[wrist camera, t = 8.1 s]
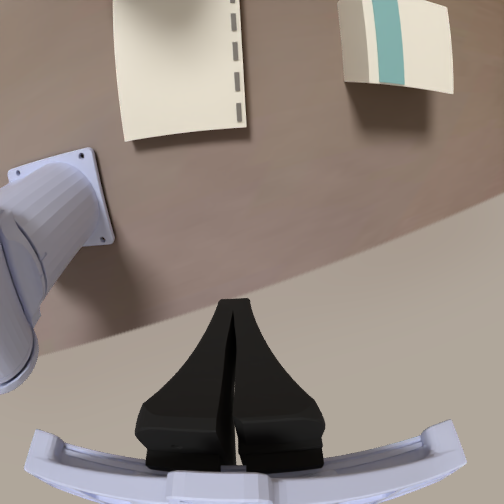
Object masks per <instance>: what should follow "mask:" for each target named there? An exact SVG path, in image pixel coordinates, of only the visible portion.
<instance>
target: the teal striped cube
mask: <svg viewBox="0 0 504 504" xmlns="http://www.w3.org/2000/svg"><path fill="white" fill-rule="evenodd" d="M337 7H338V15H339V24H340V34H341V44H342V56H343V70H344V82H360V83H374V84H386V85H395V86H404V87H412V88H419V89H426V90H432V91H438V92H444V93H449V94H453V60H452V46H451V35H450V26H449V18H448V11H447V7H444V6H441V5H438V4H435V3H432V2H428V1H425V0H340V1H338V2H337Z"/></svg>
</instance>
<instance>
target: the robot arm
mask: <svg viewBox="0 0 504 504" xmlns="http://www.w3.org/2000/svg"><path fill="white" fill-rule="evenodd" d="M81 153H83V154H84V158H82V157H81ZM19 171H20V174H19ZM8 179H9V182H10V183H8V184H6V185H5V186H3V187H2V188H0V394H4V393H8V392H10V391H12V390H14V389H16V388H17V387H18V386H20V385H21V384H22V383H23V382H24V381H25V380H26V379H27V378H28V377H29V375H30V374H31V372H32V370H33V369H34V367H35V364H36V361H37V358H38V352H39V345H38V339H37V336H36V334H35V331H34V329H33V328H34V326H35V325H36V323H37V321H38V320H39V318H40V316H41V313H40V305H41V303H42V301H43V300H44V298H45V297H46V295H47V294H48V292H49V291H50V289H51V288H52V286H53V285H54V284H55V282H56V281H57V279H58V278H59V277H60V275H61V274H62V272H63V271H64V270H65V268H66V267H67V265H68V264H69V263H70V261H71V260H72V259H73V257H74V256H75V255H76V254H77V252H78V251H79V250H80V248H81V247H83V246H96V245H108V244H112V243H113V242H114V240H115V236H114V233H113V229H112V226H111V222H110V218H109V215H108V211H107V207H106V203H105V199H104V195H103V190H102V186H101V182H100V177H99V173H98V168H97V163H96V158H95V153H94V150H93V149H92V148H90V147H87V148H83V149H79V150H75V151H71V152H67V153H63V154H59V155H55V156H52V157H48V158H45V159H41V160H38V161H35V162H31V163H28V164H25V165H22V166H19V167H16V168H13V169H11V170H9V171H8ZM102 237H104V238H105V240H103V239H102ZM234 387H235V392H234ZM235 427H236V431H237V436H238V453H239V455H240V458H241V461H242V464H243V465H236V450H235ZM324 430H325V421H324V418H323V416H322V413H321V411H320V409H319V407H318V406H317V404H316V402H315V400H314V399H313V398H311V397H310V396H309V395H308V394H307V393H306V392H305V391H304V390H303V389H302V388H301V387H300V386H299V385H298V384H297V383H296V382H295V381H294V380H293V379H292V378H291V377H290V375H289V374H288V373H287V372H286V371H285V370H284V368H283V367H282V366H281V364H280V363H279V362H278V360H277V359H276V357H275V356H274V355H273V353H272V352H271V350H270V348H269V347H268V345H267V343H266V341H265V340H264V338H263V336H262V334H261V332H260V330H259V328H258V325H257V323H256V321H255V318H254V315H253V312H252V309H251V304H250V300H249V299H248V298H241V299H221V300H220V301H219V302H218V305H217V308H216V311H215V313H214V315H213V318H212V320H211V322H210V324H209V326H208V328H207V330H206V332H205V333H204V335H203V337H202V339H201V340H200V342H199V344H198V345H197V347H196V348H195V350H194V351H193V353H192V354H191V356H190V357H189V358H188V360H187V361H186V362H185V364H184V365H183V366H182V367H181V368H180V370H179V371H178V372H177V373H176V374H175V375H174V376H173V377H172V378H171V379H170V381H168V382H167V383H166V384H165V385H164V386H163V387H162V388H161V389H160V390H159V391H158V392H157V393H156V394H154V395H153V396H152V397H151V398H149V399H148V400H147V401H146V402H144V403H143V405H142V407H141V410H140V413H139V415H138V418H137V423H136V428H135V436H136V437H137V439H138V440H139V441H140V442H141V443H142V444H143V445H144V446H145V447H146V448H147V456H146V460H144V459H136V458H131V457H125V456H119V455H114V454H109V453H104V452H100V451H95V450H91V449H87V448H82V447H79V446H75V445H71V444H68V443H64V441H63V440H62V439H60V438H59V437H57V436H56V435H54V434H51V433H48V432H45V431H42V430H39V429H36V431H35V433H34V436H33V439H32V443H31V446H30V449H29V452H28V456H27V459H26V463H25V467H24V470H25V471H27V472H28V473H30V474H32V475H33V476H35V477H37V478H38V479H40V480H42V481H43V482H45V483H47V484H49V485H51V486H52V487H55V488H57V489H60V490H62V491H65V492H68V493H71V494H74V495H76V496H79V497H82V498H85V499H88V500H91V501H94V502H97V503H100V504H378V503H381V502H384V501H388V500H391V499H394V498H396V497H399V496H402V495H405V494H407V493H410V492H413V491H416V490H418V489H421V488H423V487H426V486H428V485H431V484H433V483H436V482H438V481H440V480H442V479H444V478H445V477H447V476H449V475H450V474H452V473H453V472H455V471H456V470H458V469H459V468H461V467H462V466H464V465H465V464H466V463H467V461H466V457H465V455H464V452H463V449H462V446H461V443H460V441H459V438H458V435H457V433H456V430H455V427H454V425H453V422H452V420H451V419H449V420H446V421H444V422H441V423H438V424H435V425H433V426H431V427H428V428H427V429H425V430H424V431H423V432H422V434H421V435H419V436H416V437H413V438H410V439H407V440H403V441H400V442H397V443H393V444H389V445H386V446H382V447H378V448H374V449H370V450H365V451H361V452H356V453H351V454H346V455H341V456H335V457H329V458H323V453H322V447H323V444H322V439H321V437H322V435H323V432H324Z"/></svg>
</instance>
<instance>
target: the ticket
mask: <svg viewBox="0 0 504 504" xmlns="http://www.w3.org/2000/svg"><path fill="white" fill-rule="evenodd" d="M113 29H114V49H115V63H116V75H117V85H118V94H119V103H120V111H121V118H122V125H123V132H124V139H125V142H126V141H131V140H137V139H143V138H149V137H156V136H163V135H170V134H177V133H186V132H195V131H204V130H215V129H227V128H242V127H246V109H245V92H244V74H243V57H242V39H241V22H240V5H239V0H113Z"/></svg>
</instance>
